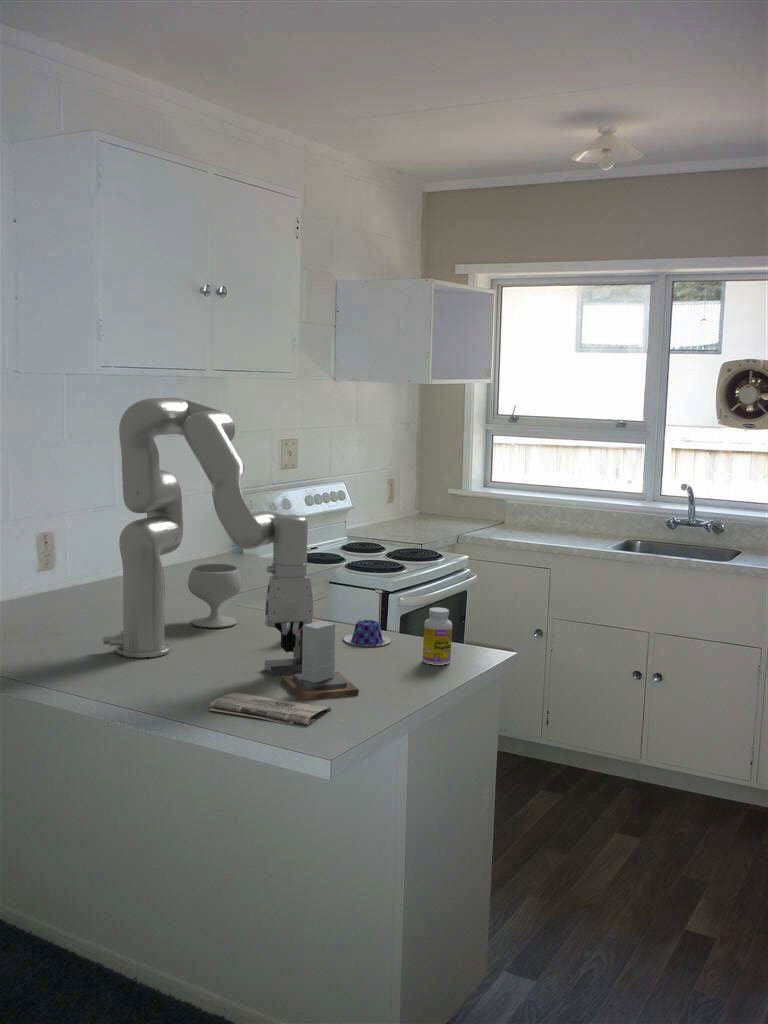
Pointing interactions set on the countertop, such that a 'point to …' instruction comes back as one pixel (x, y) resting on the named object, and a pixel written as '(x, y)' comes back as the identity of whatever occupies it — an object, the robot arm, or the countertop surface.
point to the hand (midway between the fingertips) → (288, 650)
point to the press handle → (298, 646)
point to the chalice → (214, 591)
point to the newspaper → (266, 708)
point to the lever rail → (283, 666)
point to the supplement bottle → (437, 637)
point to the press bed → (319, 687)
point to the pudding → (367, 634)
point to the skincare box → (318, 651)
